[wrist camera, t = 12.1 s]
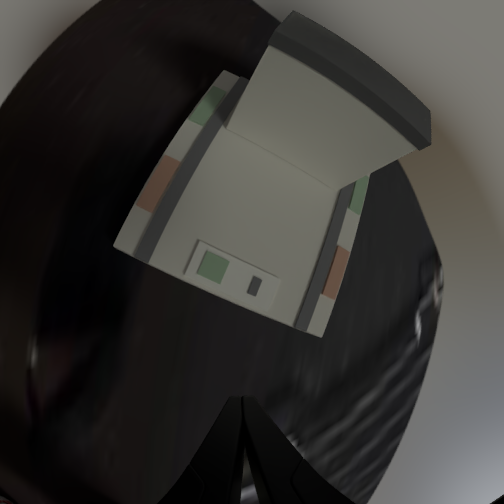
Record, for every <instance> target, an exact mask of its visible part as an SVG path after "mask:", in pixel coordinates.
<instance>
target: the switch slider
mask: <svg viewBox="0 0 504 504" xmlns="http://www.w3.org/2000/svg"><path fill="white" fill-rule="evenodd" d="M267 44H269V46H268V48H267V50H266V51H265V53H264V55H263V57H262V59H261V60H260V62H259V64H258V66H257V68H256V70H255V72H254V74H253V75H252V77H251V79H250V81H249V83H248V85H247V87H246V89H245V91H244V93H243V95H242V97H241V99H240V101H239V103H238V105H237V107H236V109H235V111H234V113H233V115H232V117H231V119H230V122H229V124H228V126H227V128H226V129H228V130H230V131H232V132H234V133H236V134H238V135H240V136H242V137H244V138H246V139H248V140H249V141H251V142H253V143H255V144H257V145H259V146H261V147H263V148H264V149H266V150H268V151H270V152H272V153H273V154H275V155H277V156H279V157H281V158H282V159H284V160H286V161H287V162H289V163H291V164H293V165H294V166H296V167H298V168H299V169H301V170H303V171H304V172H306V173H308V174H309V175H311V176H313V177H314V178H316V179H317V180H319V181H321V182H322V183H324V184H325V185H327V186H329V187H330V188H332V189H333V190H335V191H338V190H339V189H341V188H343V187H345V186H347V185H349V184H351V183H353V182H355V181H356V180H358V179H360V178H362V177H364V176H366V175H368V174H370V173H372V172H374V171H376V170H377V169H379V168H381V167H383V166H385V165H387V164H389V163H391V162H393V161H395V160H397V159H399V158H401V157H402V156H405V155H406V154H408V153H410V152H412V151H414V150H416V149H418V150H422V149H424V148H425V147H428V146H430V145H431V115H430V110H429V109H428V108H427V107H426V106H425V105H424V104H423V103H422V102H421V101H420V100H419V99H418V98H417V97H416V96H415V95H414V94H412V93H411V92H410V91H409V90H408V89H407V88H406V87H405V86H404V85H403V84H402V83H400V82H399V81H398V80H397V79H396V78H395V77H393V76H392V75H391V74H390V73H389V72H387V71H386V70H385V69H384V68H382V67H381V66H380V65H379V64H377V63H376V62H375V61H373V60H372V59H371V58H369V57H368V56H367V55H365V54H364V53H363V52H361V51H360V50H359V49H357V48H356V47H354V46H353V45H351V44H350V43H348V42H347V41H345V40H344V39H342V38H341V37H339V36H338V35H336V34H334V33H333V32H331V31H330V30H328V29H326V28H325V27H323V26H321V25H319V24H318V23H316V22H314V21H313V20H311V19H309V18H307V17H305V16H303V15H301V14H300V13H298V12H295V11H292V12H291V13H290V15H288V16H287V18H286V19H285V20H284V21H283V22H282V23H281V24H280V25H279V26H278V27H277V29H276V30H275V31H274V33H273V34H272V36H271V38H270V40H269V42H268V43H267Z"/></svg>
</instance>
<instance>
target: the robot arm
mask: <svg viewBox="0 0 504 504" xmlns="http://www.w3.org/2000/svg"><path fill="white" fill-rule="evenodd" d="M242 409H243V411H242ZM243 424H244V426H243ZM244 438H245V440H244ZM245 448H246V453H247V457H248V461H249V465H250V469H251V473H252V477H253V481H254V485H255V488H256V492H257V496H258V500H259V503H260V504H356V503H354V502H353V501H351V500H350V499H349V498H347V497H346V496H345V495H343V494H342V493H341V492H339V491H338V490H337V489H335V488H334V487H333V486H332V485H330V484H329V483H328V482H327V481H326V480H325V479H324V478H322V477H321V476H320V475H319V474H318V473H317V472H316V471H315V470H314V469H313V468H312V467H311V466H310V464H309V463H308V462H307V461H306V460H305V459H303V457H302V456H301V454H300V453H299V452H298V451H297V450H296V449H295V447H294V446H293V445H292V444H291V443H290V441H289V440H288V439H287V438H286V436H285V435H284V434H283V433H282V432H281V430H280V429H279V428H278V427H277V425H276V424H275V423H274V422H273V420H272V419H271V418H270V416H269V415H268V414H267V413H266V411H265V410H264V409H263V407H262V406H261V405H260V403H259V402H258V401H257V399H256V398H255V397H254V396H252V395H250V396H242V397H241V396H231V397H229V399H228V400H227V402H226V404H225V405H224V407H223V409H222V411H221V412H220V414H219V416H218V417H217V419H216V421H215V423H214V424H213V426H212V428H211V429H210V431H209V433H208V434H207V436H206V437H205V439H204V441H203V442H202V444H201V446H200V447H199V449H198V450H197V452H196V454H195V455H194V457H193V458H192V460H191V462H190V465H188V466H187V467H186V469H185V471H184V472H183V474H182V475H181V476H180V478H179V479H178V481H177V482H176V483H175V485H174V486H173V487H172V488H171V489H170V490H169V492H168V493H167V494H166V495H165V496H164V497H163V498H162V499H161V500H160V501H159V502H158V503H157V504H240V498H241V487H242V476H243V465H244V453H245ZM88 504H94V503H88ZM490 504H504V495H502V496H501V497H499V498H498V499H496V500H495V501H493V502H492V503H490Z"/></svg>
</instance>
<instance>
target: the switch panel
mask: <svg viewBox="0 0 504 504" xmlns="http://www.w3.org/2000/svg"><path fill="white" fill-rule="evenodd" d="M249 81H250V80H248V79H246V78H244V77H242V76H241V77H238V76H236V75H234V74H232V73H230V72H227V71H225V70H223V72H222V73H221V74H220V75H219V77H218V78H217V79H216V80H215V82H214V83H213V84H212V85H211V87H210V88H209V89H208V91H207V92H206V93H205V94H204V96H203V97H202V98H201V100H200V101H199V102H198V104H197V105H196V107H195V108H194V109H193V111H192V112H191V113H190V115H189V116H188V118H187V119H186V120H185V122H184V123H183V125H182V126H181V128H180V129H179V131H178V132H177V134H176V135H175V137H174V138H173V140H172V141H171V143H170V144H169V146H168V147H167V149H166V150H165V152H164V154H163V155H162V157H161V158H160V160H159V162H158V163H157V165H156V167H155V168H154V170H153V172H152V173H151V175H150V177H149V178H148V180H147V182H146V183H145V185H144V187H143V189H142V191H141V192H140V194H139V196H138V198H137V200H136V201H135V203H134V205H133V207H132V209H131V211H130V213H129V215H128V216H127V218H126V220H125V222H124V224H123V226H122V228H121V230H120V232H119V234H118V236H117V239H116V241H115V243H114V245H113V246H114V247H115V248H116V249H118V250H120V251H122V252H124V253H126V254H128V255H130V256H132V257H134V258H136V259H138V260H140V261H142V262H144V263H146V264H148V265H151V266H153V267H155V268H157V269H159V270H161V271H163V272H165V273H167V274H169V275H171V276H174V277H176V278H178V279H180V280H182V281H184V282H187V283H189V284H191V285H193V286H195V287H198V288H200V289H202V290H204V291H207V292H209V293H211V294H213V295H216V296H218V297H220V298H222V299H225V300H227V301H229V302H232V303H234V304H236V305H239V306H241V307H244V308H246V309H248V310H251V311H253V312H256V313H258V314H260V315H263V316H265V317H268V318H270V319H273V320H275V321H278V322H280V323H283V324H285V325H288V326H291V327H293V328H296V329H298V330H301V331H304V332H306V333H309V334H312V335H314V336H318V337H321V338H322V336H323V333H324V331H325V328H326V325H327V323H328V320H329V317H330V314H331V311H332V308H333V306H334V303H335V300H336V297H337V294H338V291H339V288H340V285H341V282H342V278H343V275H344V272H345V269H346V265H347V262H348V259H349V255H350V252H351V249H352V245H353V241H354V238H355V234H356V231H357V227H358V223H359V219H360V215H361V211H362V207H363V203H364V199H365V195H366V190H367V186H368V181H369V177H370V174H368V175H366V176H364V177H362V178H360V179H358V180H356V181H355V182H353V183H351V184H349V185H347V186H345V187H343V188H341V189H339V190H338V191H335V190H333V189H332V188H330V187H329V186H327V185H325V184H324V183H322V182H321V181H319V180H317V179H316V178H314V177H313V176H311V175H309V174H308V173H306V172H304V171H303V170H301V169H299V168H298V167H296V166H294V165H293V164H291V163H289V162H287V161H286V160H284V159H282V158H281V157H279V156H277V155H275V154H273V153H272V152H270V151H268V150H266V149H264V148H263V147H261V146H259V145H257V144H255V143H253V142H251V141H249V140H248V139H246V138H244V137H242V136H240V135H238V134H236V133H234V132H232V131H230V130H228V129H226V128H227V126H228V124H229V122H230V119H231V117H232V115H233V113H234V111H235V109H236V107H237V105H238V103H239V101H240V99H241V97H242V95H243V93H244V91H245V89H246V87H247V85H248V83H249Z"/></svg>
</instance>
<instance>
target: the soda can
mask: <svg viewBox="0 0 504 504" xmlns="http://www.w3.org/2000/svg"><path fill="white" fill-rule="evenodd" d="M0 504H14V503H13V502H11V501H10V500H8V499H6V498H4V497H2V496H0Z"/></svg>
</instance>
